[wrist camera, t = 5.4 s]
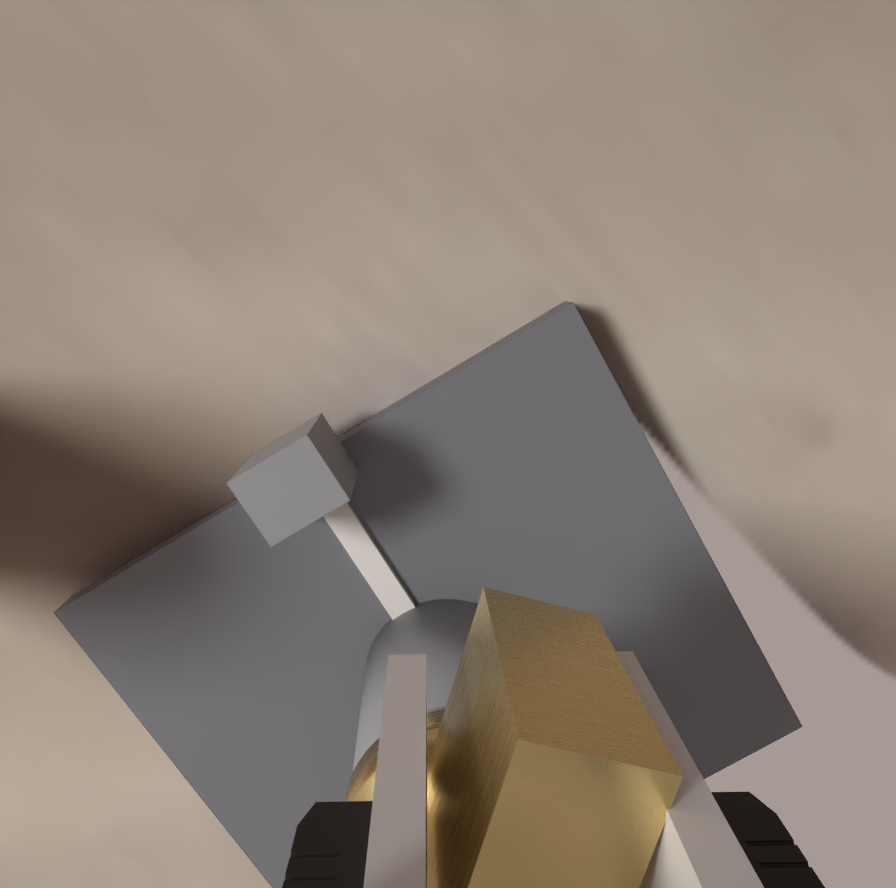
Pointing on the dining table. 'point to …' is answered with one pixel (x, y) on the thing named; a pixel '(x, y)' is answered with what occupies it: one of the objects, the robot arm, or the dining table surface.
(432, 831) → the yellow lever handle
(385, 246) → the dining table surface
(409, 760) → the robot arm
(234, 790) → the grey square base
